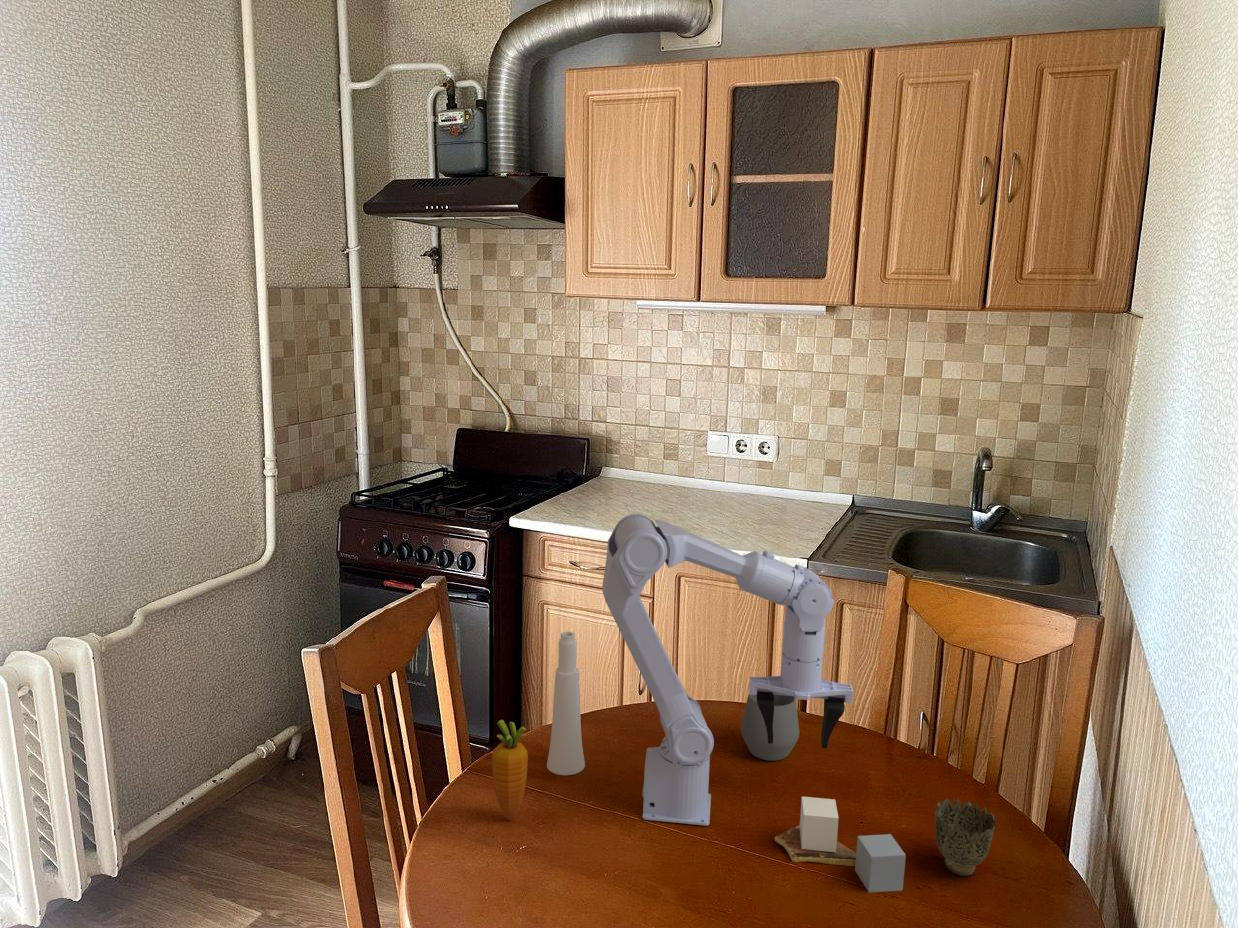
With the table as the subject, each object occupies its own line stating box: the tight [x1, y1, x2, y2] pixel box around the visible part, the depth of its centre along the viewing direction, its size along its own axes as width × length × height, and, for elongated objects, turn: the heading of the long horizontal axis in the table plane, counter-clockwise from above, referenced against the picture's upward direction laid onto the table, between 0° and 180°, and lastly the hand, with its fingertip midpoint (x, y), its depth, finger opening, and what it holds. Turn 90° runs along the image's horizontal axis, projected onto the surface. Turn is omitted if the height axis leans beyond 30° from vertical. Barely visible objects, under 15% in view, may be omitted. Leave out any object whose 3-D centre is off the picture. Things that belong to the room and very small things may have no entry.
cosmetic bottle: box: [546, 631, 586, 776], centre depth 140 cm, size 6×6×22 cm
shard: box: [774, 824, 856, 867], centre depth 120 cm, size 11×8×2 cm
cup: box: [740, 693, 800, 762], centre depth 146 cm, size 10×9×10 cm
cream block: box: [799, 796, 840, 852], centre depth 121 cm, size 4×4×5 cm
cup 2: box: [934, 798, 996, 877], centre depth 117 cm, size 8×7×8 cm
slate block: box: [854, 833, 907, 893], centre depth 115 cm, size 4×4×5 cm
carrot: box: [491, 719, 529, 822], centre depth 125 cm, size 5×5×15 cm
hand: (796, 742), depth 130 cm, fingers open, 7 cm apart
